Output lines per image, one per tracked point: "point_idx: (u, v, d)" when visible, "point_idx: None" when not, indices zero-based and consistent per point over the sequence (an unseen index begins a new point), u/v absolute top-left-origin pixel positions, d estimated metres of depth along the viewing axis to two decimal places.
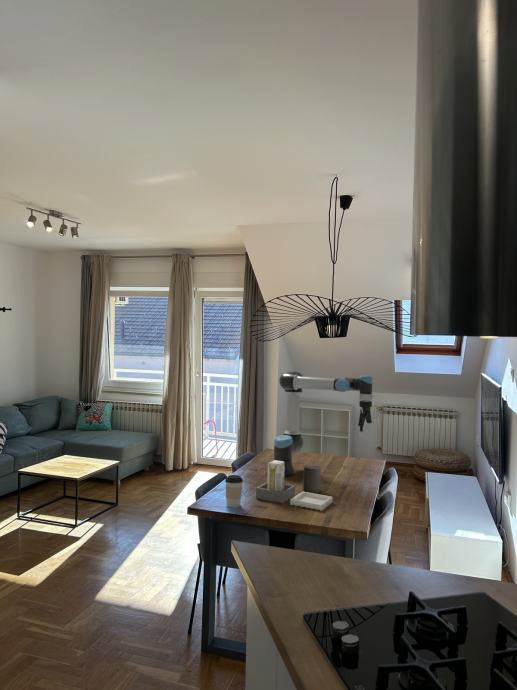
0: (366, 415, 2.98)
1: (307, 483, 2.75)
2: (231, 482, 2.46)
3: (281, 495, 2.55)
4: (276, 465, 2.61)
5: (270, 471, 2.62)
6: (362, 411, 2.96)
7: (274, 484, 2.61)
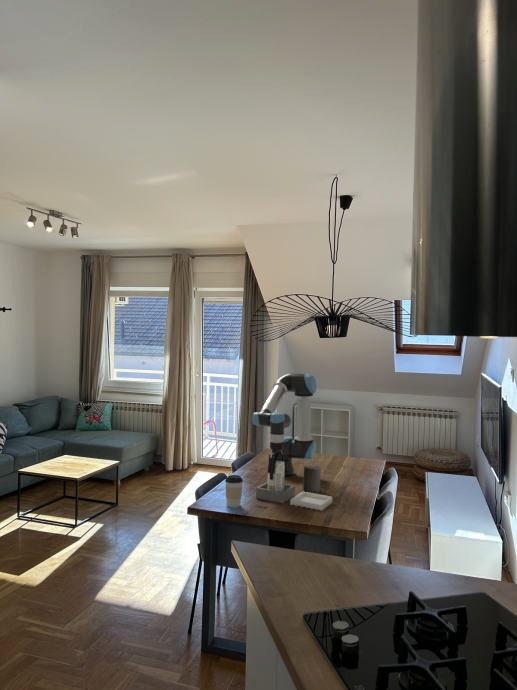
0: (277, 459, 2.62)
1: (307, 483, 2.75)
2: (231, 482, 2.46)
3: (281, 495, 2.55)
4: (276, 465, 2.61)
5: None
6: (271, 456, 2.59)
7: None
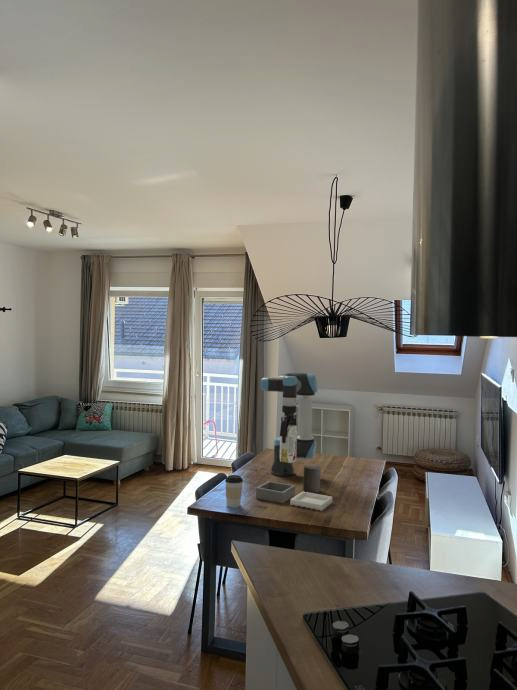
0: (289, 423, 2.58)
1: (307, 483, 2.75)
2: (231, 482, 2.46)
3: (281, 495, 2.55)
4: (288, 428, 2.57)
5: None
6: (283, 419, 2.56)
7: (287, 447, 2.57)
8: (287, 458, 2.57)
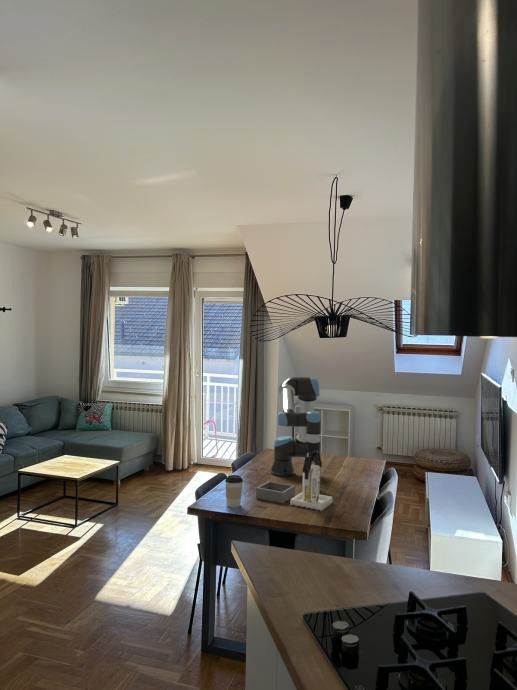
0: (313, 459, 2.51)
1: None
2: (231, 482, 2.46)
3: (281, 495, 2.55)
4: (312, 469, 2.50)
5: None
6: (308, 455, 2.49)
7: (310, 489, 2.49)
8: (310, 500, 2.49)
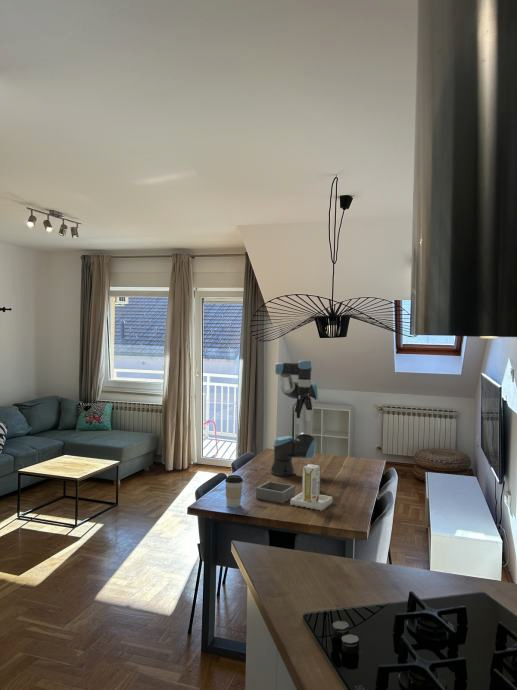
0: (304, 401, 2.88)
1: None
2: (231, 482, 2.46)
3: (281, 495, 2.55)
4: (312, 469, 2.50)
5: (305, 476, 2.51)
6: (299, 397, 2.85)
7: (310, 489, 2.49)
8: (310, 500, 2.49)
